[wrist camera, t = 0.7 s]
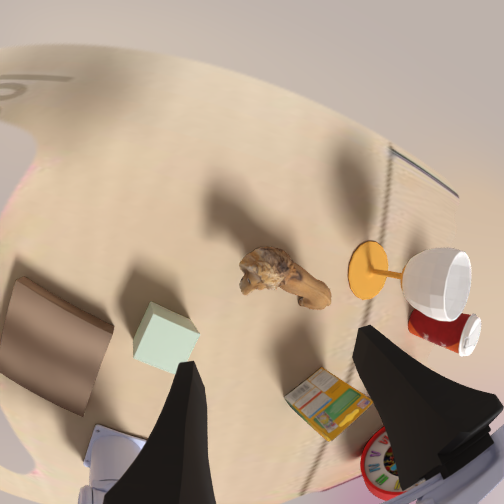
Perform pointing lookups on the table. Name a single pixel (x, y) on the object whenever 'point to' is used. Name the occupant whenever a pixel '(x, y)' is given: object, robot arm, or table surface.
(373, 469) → the toy clock
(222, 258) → the table surface
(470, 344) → the paper cup
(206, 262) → the table surface
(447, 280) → the cup
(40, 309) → the walnut block
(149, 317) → the sage cube
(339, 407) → the crayon box
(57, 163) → the table surface
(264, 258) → the tan animal figurine
